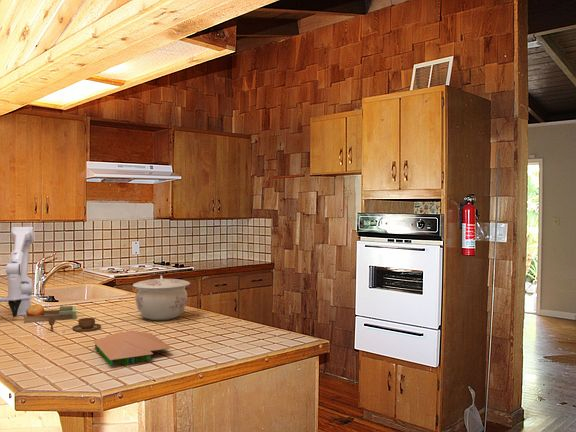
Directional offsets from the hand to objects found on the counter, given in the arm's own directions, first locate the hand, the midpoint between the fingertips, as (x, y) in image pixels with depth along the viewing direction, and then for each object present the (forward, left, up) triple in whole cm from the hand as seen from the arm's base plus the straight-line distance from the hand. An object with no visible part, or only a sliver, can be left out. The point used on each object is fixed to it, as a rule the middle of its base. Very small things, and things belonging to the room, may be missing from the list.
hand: (15, 316), depth 261 cm
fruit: (0, +9, -2) cm, 9 cm away
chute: (0, +15, -2) cm, 15 cm away
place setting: (+29, +28, -3) cm, 40 cm away
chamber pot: (+20, +66, -2) cm, 69 cm away
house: (+78, +46, -3) cm, 91 cm away
